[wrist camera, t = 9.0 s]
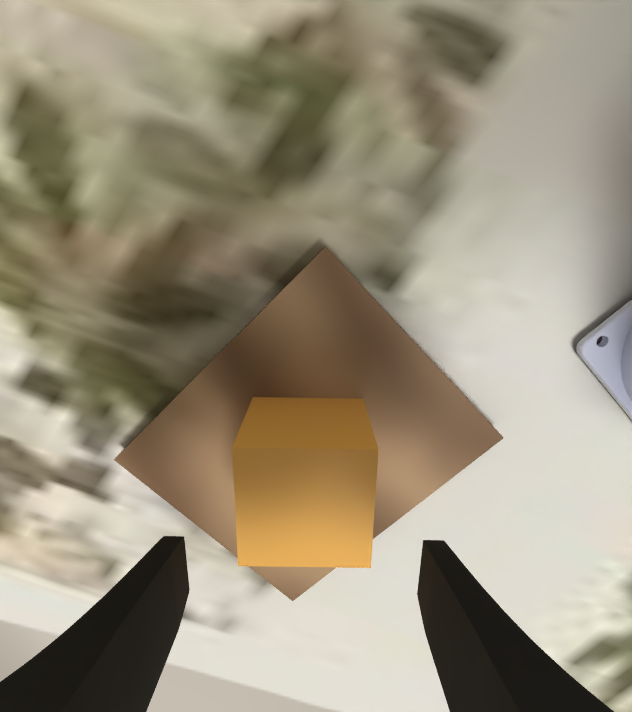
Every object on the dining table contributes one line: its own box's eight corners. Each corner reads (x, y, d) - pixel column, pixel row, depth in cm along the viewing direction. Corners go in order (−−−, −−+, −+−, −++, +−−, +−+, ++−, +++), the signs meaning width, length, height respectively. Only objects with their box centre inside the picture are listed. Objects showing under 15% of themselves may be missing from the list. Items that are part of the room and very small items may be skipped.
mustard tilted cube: (252, 397, 17) (232, 447, 13) (363, 398, 17) (378, 449, 13) (256, 492, 19) (238, 566, 14) (358, 493, 19) (370, 567, 15)
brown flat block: (325, 246, 17) (328, 247, 13) (494, 428, 19) (539, 474, 15) (124, 448, 19) (76, 499, 15) (293, 585, 22) (288, 658, 18)
